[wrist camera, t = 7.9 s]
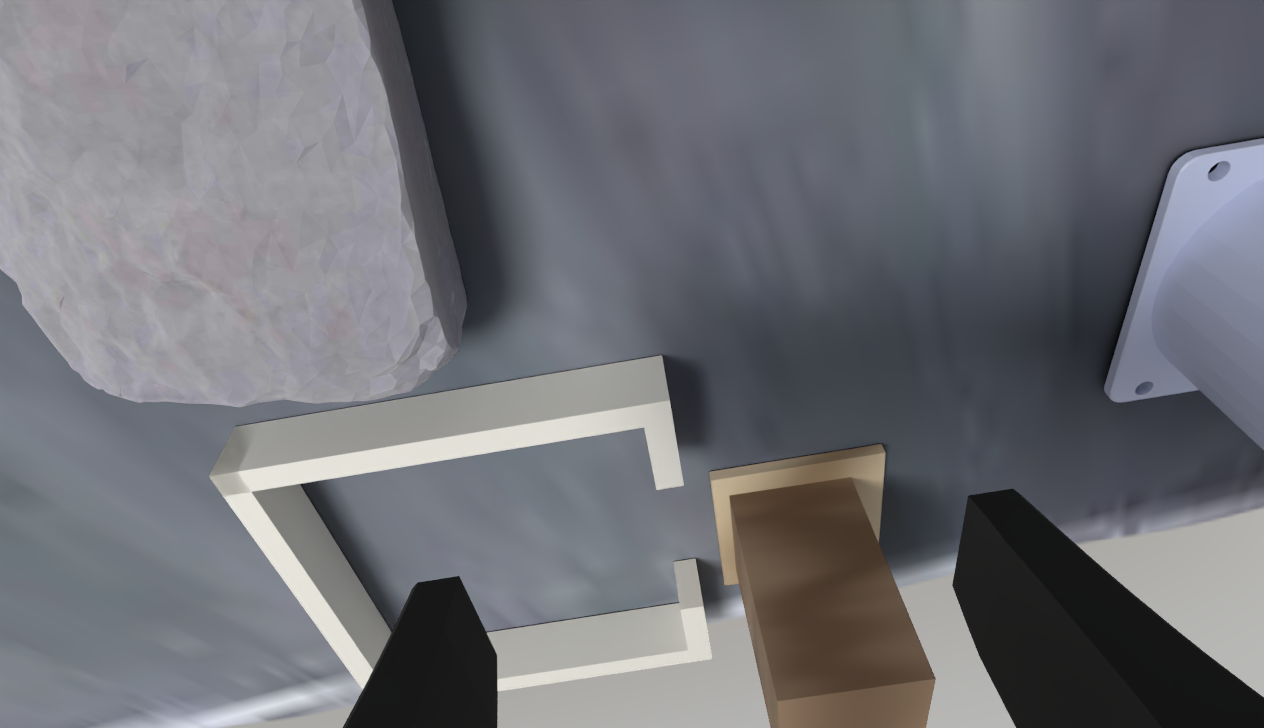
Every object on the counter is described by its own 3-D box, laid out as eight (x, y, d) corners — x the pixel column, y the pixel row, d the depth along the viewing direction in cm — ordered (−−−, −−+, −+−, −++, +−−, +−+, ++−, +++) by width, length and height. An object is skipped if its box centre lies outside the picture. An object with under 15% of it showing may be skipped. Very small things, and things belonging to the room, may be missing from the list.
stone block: (179, 322, 22) (508, 319, 20) (55, 430, 18) (449, 437, 16) (-83, -179, 15) (383, -244, 13) (-374, -179, 11) (233, -270, 10)
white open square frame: (662, 355, 21) (669, 400, 20) (704, 611, 29) (712, 658, 27) (234, 426, 22) (208, 476, 20) (387, 660, 29) (377, 709, 28)
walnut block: (851, 477, 24) (935, 678, 19) (846, 554, 27) (920, 752, 21) (729, 495, 24) (777, 701, 19) (736, 570, 27) (780, 772, 21)
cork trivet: (881, 444, 24) (885, 452, 24) (873, 553, 27) (877, 561, 27) (709, 471, 24) (711, 480, 24) (723, 576, 28) (724, 585, 27)
